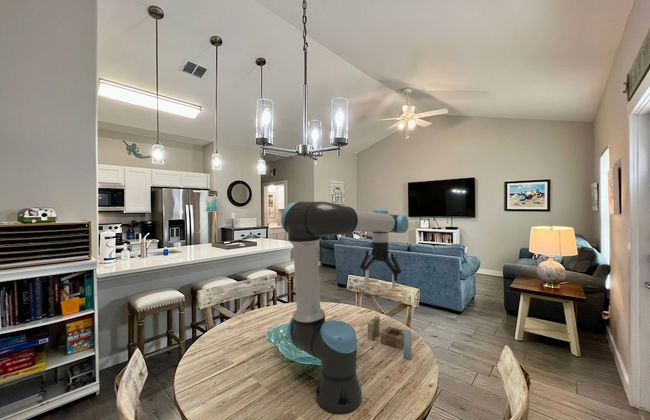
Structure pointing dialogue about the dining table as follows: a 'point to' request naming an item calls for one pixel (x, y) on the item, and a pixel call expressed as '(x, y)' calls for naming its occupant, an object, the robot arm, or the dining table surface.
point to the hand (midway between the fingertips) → (379, 285)
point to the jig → (373, 328)
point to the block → (393, 337)
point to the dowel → (407, 344)
